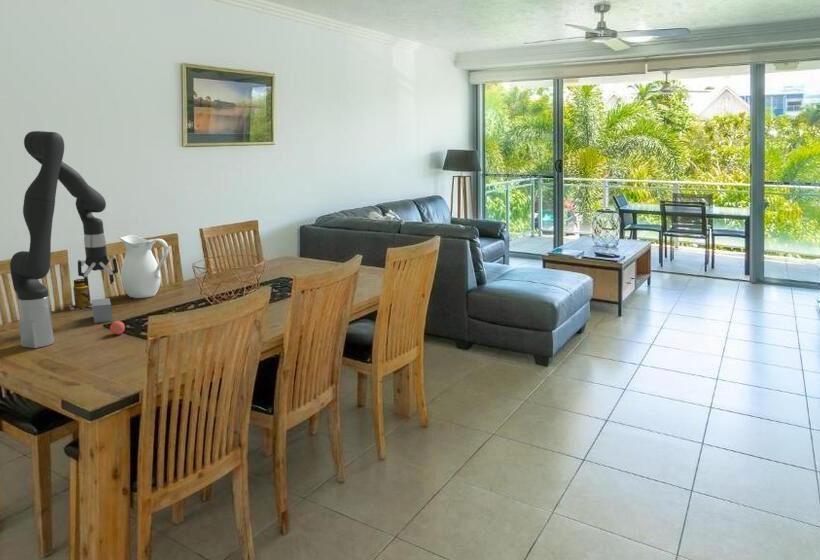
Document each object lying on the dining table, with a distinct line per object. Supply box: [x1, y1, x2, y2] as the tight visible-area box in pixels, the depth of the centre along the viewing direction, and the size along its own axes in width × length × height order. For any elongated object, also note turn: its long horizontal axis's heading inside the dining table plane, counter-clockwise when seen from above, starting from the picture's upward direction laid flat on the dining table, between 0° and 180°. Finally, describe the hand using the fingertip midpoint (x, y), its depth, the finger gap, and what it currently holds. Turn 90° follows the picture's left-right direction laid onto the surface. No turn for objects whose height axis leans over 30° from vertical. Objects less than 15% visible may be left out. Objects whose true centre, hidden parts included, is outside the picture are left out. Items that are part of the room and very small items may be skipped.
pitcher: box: [118, 234, 170, 299], centre depth 287 cm, size 24×17×28 cm
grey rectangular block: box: [91, 297, 114, 324], centre depth 252 cm, size 11×7×7 cm, turn 29°
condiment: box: [68, 278, 92, 311], centre depth 269 cm, size 7×8×12 cm
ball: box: [109, 320, 126, 335], centre depth 233 cm, size 5×5×5 cm
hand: (99, 284), depth 250 cm, fingers open, 8 cm apart
